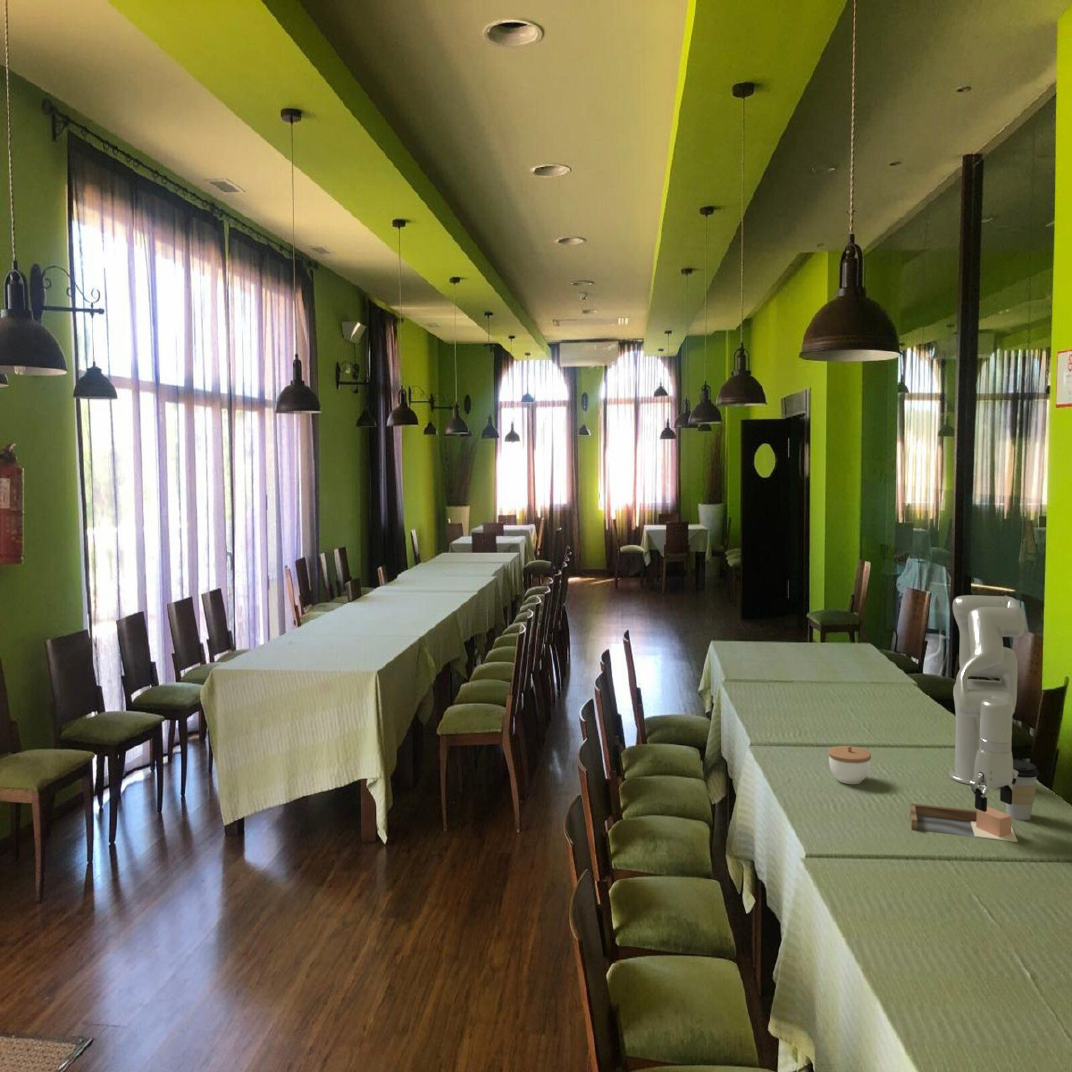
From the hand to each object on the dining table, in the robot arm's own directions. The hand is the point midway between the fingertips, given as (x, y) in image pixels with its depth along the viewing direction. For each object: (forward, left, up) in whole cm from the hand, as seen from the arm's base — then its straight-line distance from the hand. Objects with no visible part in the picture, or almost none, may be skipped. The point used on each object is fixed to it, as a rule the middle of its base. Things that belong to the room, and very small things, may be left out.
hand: (993, 806), depth 232 cm
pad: (+1, 0, -7) cm, 7 cm away
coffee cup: (-13, +8, -7) cm, 17 cm away
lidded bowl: (-28, -37, -7) cm, 47 cm away
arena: (0, -7, -7) cm, 10 cm away
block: (+1, 0, -7) cm, 7 cm away
